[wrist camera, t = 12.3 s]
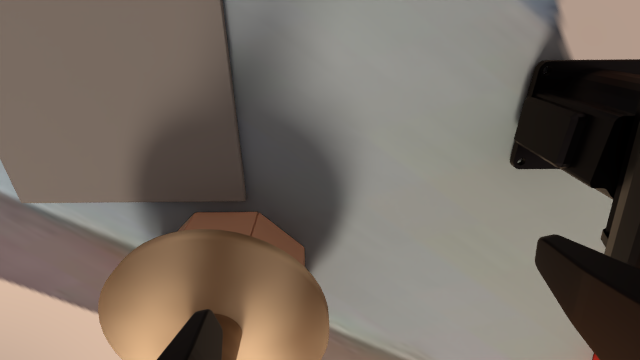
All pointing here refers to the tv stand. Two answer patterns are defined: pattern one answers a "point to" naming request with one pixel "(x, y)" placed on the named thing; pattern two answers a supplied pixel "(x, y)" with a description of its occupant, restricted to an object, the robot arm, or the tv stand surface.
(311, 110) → the tv stand surface
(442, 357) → the tv stand surface
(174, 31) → the rubber mat
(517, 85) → the tv stand surface
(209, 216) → the terracotta bowl
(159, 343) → the oak lid
